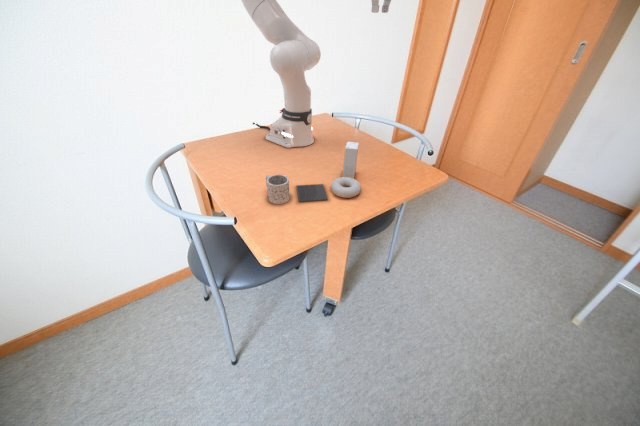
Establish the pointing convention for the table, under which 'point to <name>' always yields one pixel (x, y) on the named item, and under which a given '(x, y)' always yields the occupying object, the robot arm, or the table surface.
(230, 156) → the table surface
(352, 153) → the cosmetic box
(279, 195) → the mug
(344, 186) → the donut
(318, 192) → the slate coaster
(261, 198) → the table surface
